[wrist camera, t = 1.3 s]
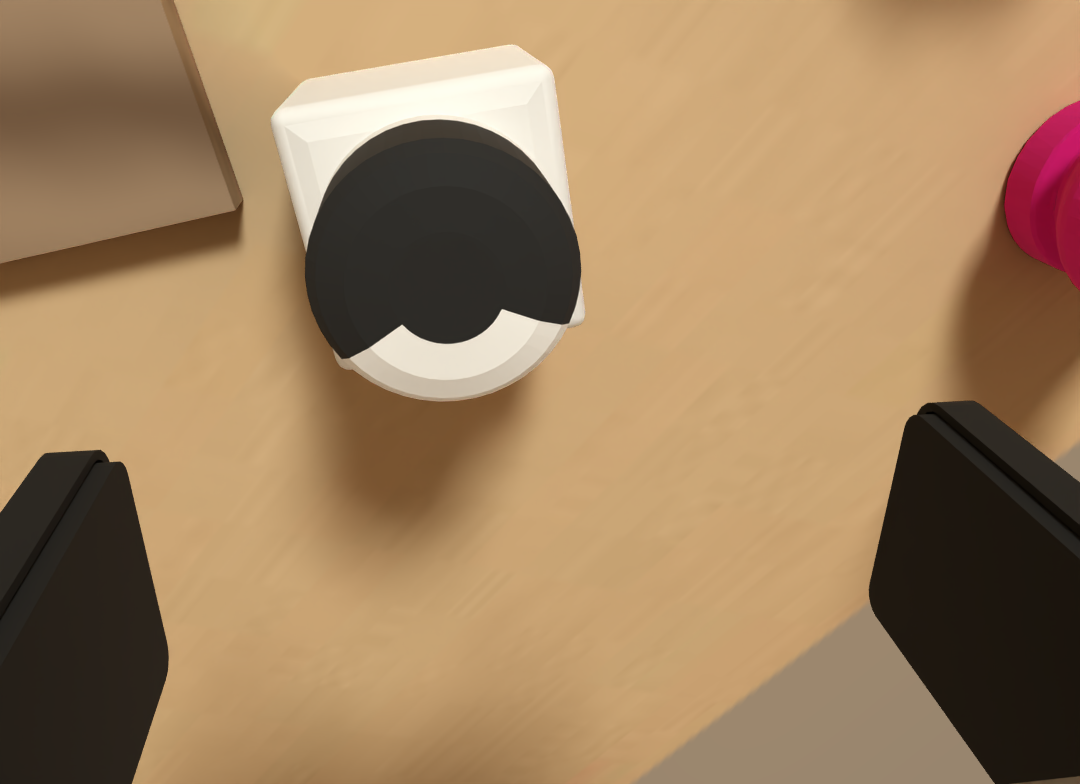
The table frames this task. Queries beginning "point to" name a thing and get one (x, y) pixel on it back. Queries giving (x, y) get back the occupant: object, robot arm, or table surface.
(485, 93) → the medicine bottle
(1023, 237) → the pepper mill
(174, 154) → the walnut board
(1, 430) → the table surface
